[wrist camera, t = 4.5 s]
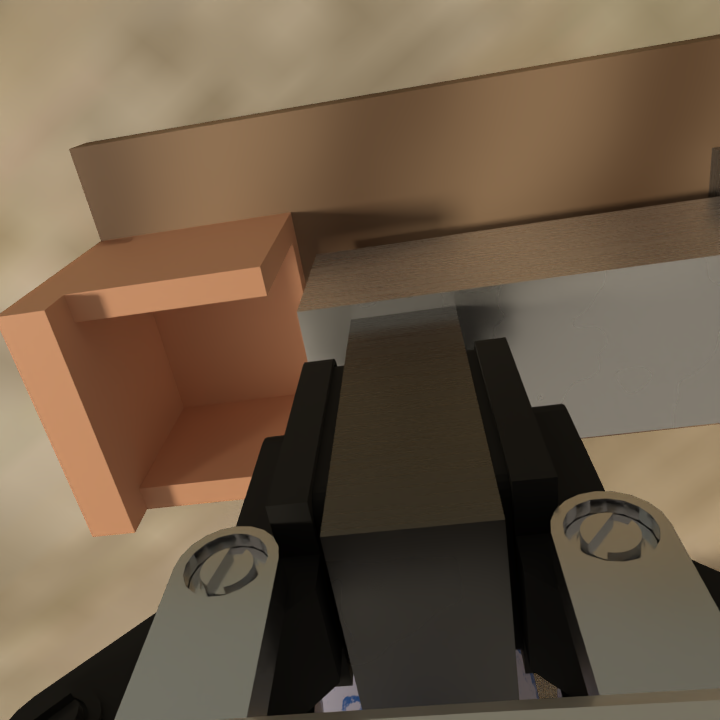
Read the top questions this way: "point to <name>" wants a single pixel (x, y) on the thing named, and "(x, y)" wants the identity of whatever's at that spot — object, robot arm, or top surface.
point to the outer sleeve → (714, 173)
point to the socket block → (164, 363)
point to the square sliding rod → (463, 419)
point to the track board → (430, 155)
